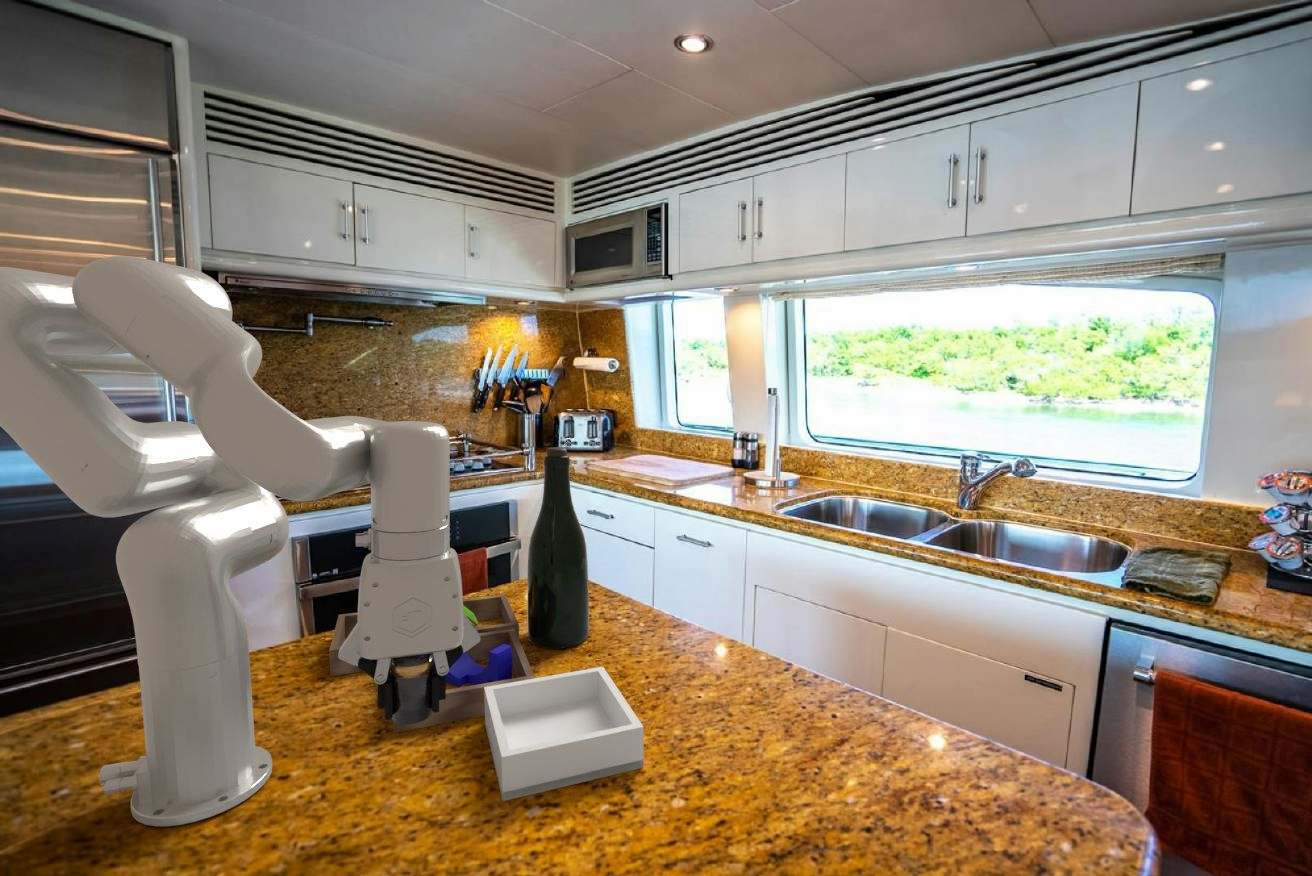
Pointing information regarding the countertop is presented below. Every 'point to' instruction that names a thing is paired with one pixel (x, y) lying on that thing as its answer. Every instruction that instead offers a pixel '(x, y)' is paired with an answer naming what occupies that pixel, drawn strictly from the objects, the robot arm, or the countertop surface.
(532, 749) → the bin
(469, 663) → the cable clip
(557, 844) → the countertop surface
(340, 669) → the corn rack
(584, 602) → the dark green wine bottle
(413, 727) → the brown hollow square frame
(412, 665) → the battery cell
